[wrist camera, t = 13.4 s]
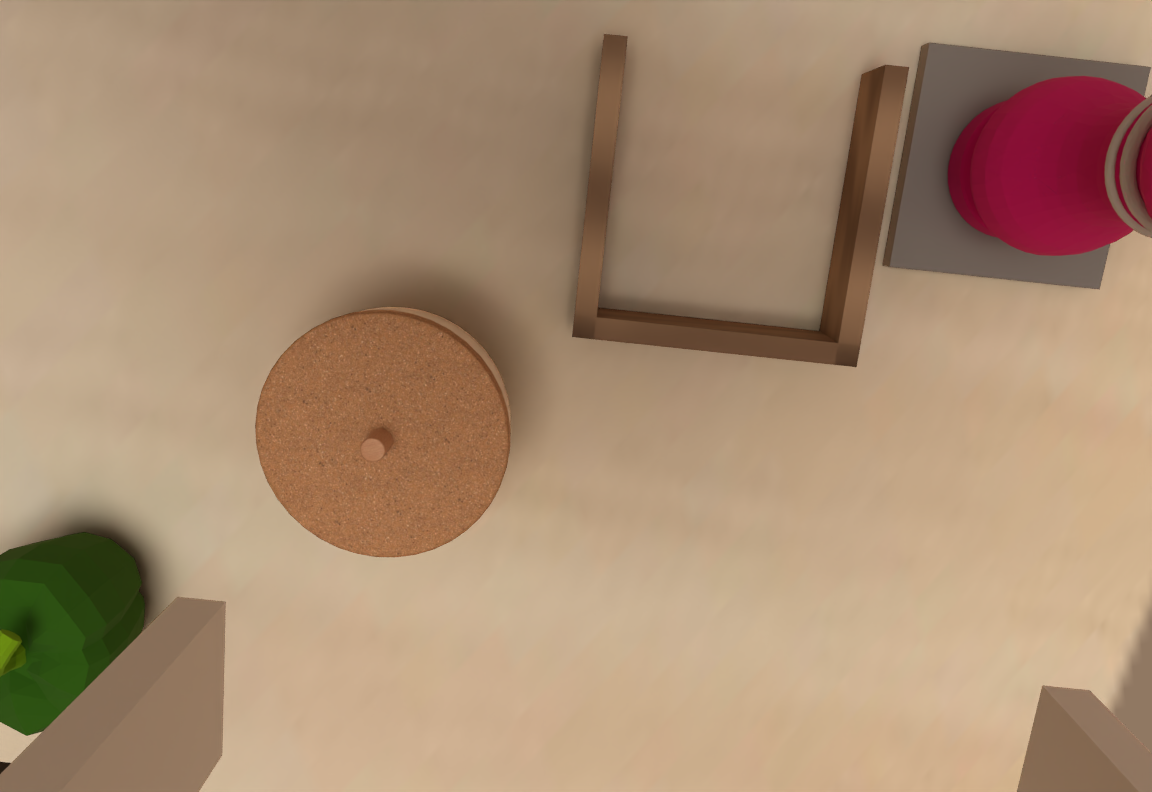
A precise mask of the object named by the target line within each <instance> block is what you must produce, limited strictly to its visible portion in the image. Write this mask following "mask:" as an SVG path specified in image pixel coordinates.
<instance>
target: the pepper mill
mask: <svg viewBox="0 0 1152 792" xmlns="http://www.w3.org/2000/svg"><path fill="white" fill-rule="evenodd" d="M948 185H949V191H950V195H951V198H952V201H953V203H954V205H955V207H956V209H957V210H958V212H959V213H960V215H961V216H962V217H963V219H964V220H965V221H966V222H967V223H968V224H970V225H971V226H972V227H973V228H975V229H977V230H978V231H980V232H982V233H984V234H986V235H990V236H993V237H997V238H999V239H1000V240H1002V241H1004V242H1005V243H1007V244H1008V245H1010V246H1012V247H1014V248H1016V249H1019V250H1021V251H1024V252H1027V253H1031V254H1036V255H1045V256H1063V255H1075V254H1081V253H1085V252H1089V251H1093V250H1095V249H1098V248H1100V247H1103V246H1105V245H1108V244H1110V243H1113V242H1115V241H1117V240H1119V239H1121V238H1122V237H1124V236H1126V235H1128V234H1129V233H1130V232H1132V231H1133V230H1135V231H1137V232H1138V233H1140V234H1142V235H1145V236H1147V237H1151V238H1152V95H1151V96H1150V97H1148V98H1147V99H1146V98H1145V97H1144V96H1142V95H1141V94H1140V93H1138V92H1137V91H1135V90H1133V89H1131V88H1129V87H1126V86H1124V85H1122V84H1119V83H1116V82H1114V81H1110V80H1107V79H1104V78H1099V77H1090V76H1067V77H1059V78H1052V79H1048V80H1045V81H1041V82H1038V83H1036V84H1034V85H1031V86H1029V87H1027V88H1025V89H1023V90H1021V91H1020V92H1018V93H1016V94H1015V95H1014V96H1012V97H1011V98H1010V99H1008V100H1007V101H1003V102H1000V103H998V104H995V105H993V106H991V107H989V108H988V109H986V110H984V111H983V112H981V113H980V114H979V115H977V116H976V117H975V118H974V119H973V120H972V121H971V122H970V123H969V124H968V125H967V126H966V127H965V129H964V130H963V131H962V133H961V134H960V136H959V138H958V139H957V141H956V143H955V145H954V147H953V150H952V153H951V156H950V161H949V165H948Z"/></svg>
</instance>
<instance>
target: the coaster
mask: <svg viewBox="0 0 1152 792" xmlns="http://www.w3.org/2000/svg"><path fill="white" fill-rule="evenodd" d="M1150 69H1151V67H1146V66H1137V65H1128V64H1118V63H1109V62H1100V61H1091V60H1082V59H1073V58H1064V57H1055V56H1046V55H1036V54H1027V53H1018V52H1009V51H1000V50H991V49H982V48H973V47H964V46H954V45H945V44H936V43H928V44H926V45H923V46H922V48H921V53H920V59H919V65H918V70H917V76H916V81H915V87H914V93H913V98H912V104H911V110H910V115H909V121H908V126H907V132H906V138H905V143H904V149H903V155H902V160H901V166H900V171H899V177H898V183H897V188H896V194H895V200H894V205H893V211H892V216H891V222H890V228H889V233H888V239H887V245H886V250H885V256H884V261H883V265H885V266H888V267H896V268H906V269H915V270H924V271H933V272H943V273H952V274H961V275H971V276H980V277H989V278H999V279H1008V280H1017V281H1027V282H1036V283H1045V284H1055V285H1064V286H1073V287H1083V288H1092V289H1100V285H1101V281H1102V276H1103V272H1104V268H1105V264H1106V259H1107V255H1108V251H1109V246H1110V244H1108V245H1105V246H1103V247H1100V248H1098V249H1095V250H1093V251H1089V252H1085V253H1081V254H1075V255H1063V256H1045V255H1036V254H1031V253H1027V252H1024V251H1021V250H1019V249H1016V248H1014V247H1012V246H1010V245H1008V244H1007V243H1005V242H1004V241H1002V240H1000V239H999V238H997V237H993V236H990V235H986V234H984V233H982V232H980V231H978V230H977V229H975V228H973V227H972V226H971V225H970V224H968V223H967V222H966V221H965V220H964V219H963V217H962V216H961V215H960V213H959V212H958V210H957V209H956V207H955V205H954V203H953V201H952V198H951V195H950V191H949V185H948V165H949V161H950V156H951V153H952V150H953V147H954V145H955V143H956V141H957V139H958V138H959V136H960V134H961V133H962V131H963V130H964V129H965V127H966V126H967V125H968V124H969V123H970V122H971V121H972V120H973V119H974V118H975V117H976V116H977V115H979V114H980V113H981V112H983V111H984V110H986V109H988V108H989V107H991V106H993V105H995V104H998V103H1000V102H1003V101H1007V100H1008V99H1010V98H1011V97H1012V96H1014V95H1015V94H1016V93H1018V92H1020V91H1021V90H1023V89H1025V88H1027V87H1029V86H1031V85H1034V84H1036V83H1038V82H1041V81H1045V80H1048V79H1052V78H1059V77H1067V76H1090V77H1099V78H1104V79H1107V80H1110V81H1114V82H1116V83H1119V84H1122V85H1124V86H1126V87H1129V88H1131V89H1133V90H1135V91H1137V92H1138V93H1140V94H1141V95H1142V96H1144V95H1145V90H1146V86H1147V82H1148V77H1149V73H1150Z"/></svg>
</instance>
